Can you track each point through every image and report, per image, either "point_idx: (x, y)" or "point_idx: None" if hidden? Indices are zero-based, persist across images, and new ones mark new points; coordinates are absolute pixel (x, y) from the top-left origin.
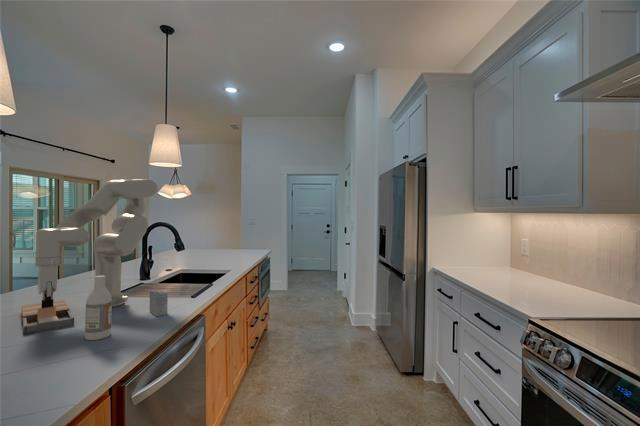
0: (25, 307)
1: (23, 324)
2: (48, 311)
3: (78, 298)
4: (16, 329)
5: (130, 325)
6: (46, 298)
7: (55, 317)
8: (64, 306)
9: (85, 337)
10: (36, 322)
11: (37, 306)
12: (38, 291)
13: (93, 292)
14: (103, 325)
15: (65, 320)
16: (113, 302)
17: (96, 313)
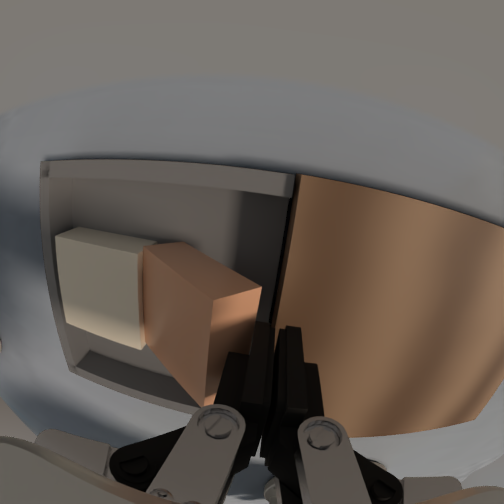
0: None
1: (151, 160)
2: (177, 346)
3: (499, 421)
4: (196, 127)
5: (35, 404)
6: (163, 442)
7: (117, 334)
8: (349, 427)
9: None
10: (228, 246)
11: (498, 317)
12: (28, 485)
13: None
14: None
15: (63, 340)
16: (271, 501)
17: None
